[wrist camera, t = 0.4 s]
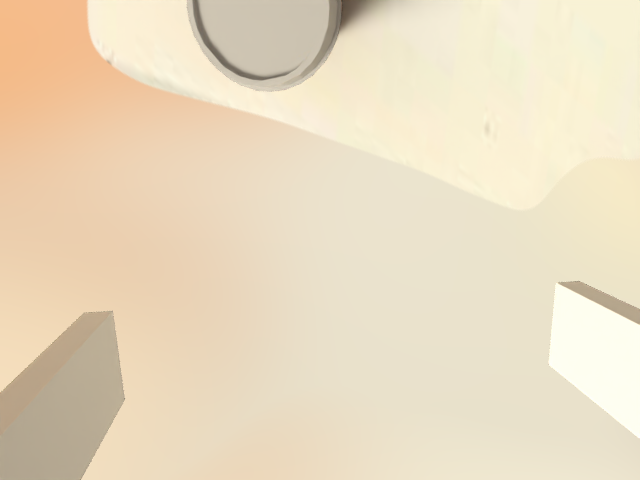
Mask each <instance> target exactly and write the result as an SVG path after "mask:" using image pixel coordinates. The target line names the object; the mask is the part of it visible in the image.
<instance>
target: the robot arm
mask: <svg viewBox="0 0 640 480" xmlns="http://www.w3.org/2000/svg"><path fill="white" fill-rule="evenodd" d="M549 365H550V366H551V367H552V368H554V369H555V370H556V371H557V372H558V373H559V374H561V375H562V376H563V377H565V378H566V379H567V380H568V381H569V382H571V383H572V384H573V385H574V386H576V387H577V388H578V389H579V390H580V391H582V392H583V393H584V394H585V395H587V396H588V397H589V398H590V399H591V400H593V401H594V402H595V403H596V404H598V405H599V406H600V407H601V408H603V409H604V410H605V411H606V412H608V413H609V414H610V415H611V416H612V417H614V418H615V419H616V420H617V421H618V422H620V423H621V424H622V425H624V426H625V427H626V428H627V429H628V430H630V431H631V432H632V433H633V434H634V435H636V436H637V437H638V438H639V439H640V309H638V308H636V307H634V306H632V305H630V304H627V303H625V302H623V301H621V300H619V299H617V298H615V297H612V296H610V295H608V294H606V293H604V292H602V291H599V290H597V289H595V288H593V287H591V286H589V285H587V284H584V283H582V282H580V281H574V282H558V283H556V288H555V299H554V311H553V322H552V333H551V344H550V355H549ZM124 400H125V398H124V390H123V383H122V375H121V368H120V361H119V353H118V346H117V338H116V331H115V324H114V316H113V311H103V312H89V313H84V314H82V315H81V316H80V317H79V318H78V319H77V320H76V321H75V322H74V323H73V324H72V325H71V326H70V327H69V328H68V329H67V330H66V331H65V332H63V333H62V334H61V335H60V336H59V337H58V338H57V339H56V340H55V341H54V342H53V343H52V344H51V345H50V346H49V347H48V348H47V349H46V350H45V351H43V352H42V353H41V354H40V356H38V357H37V358H36V359H35V360H34V361H33V362H32V363H31V364H30V365H29V366H28V367H27V368H26V369H25V370H24V371H23V372H21V374H20V375H18V376H17V377H16V378H15V379H14V380H13V381H12V382H11V383H10V384H9V385H8V386H7V387H6V388H5V389H4V390H3V391H2V392H0V480H81V478H82V476H83V475H84V473H85V471H86V469H87V467H88V466H89V464H90V462H91V460H92V458H93V457H94V455H95V453H96V451H97V449H98V448H99V446H100V444H101V442H102V440H103V438H104V436H105V435H106V433H107V431H108V429H109V427H110V426H111V424H112V422H113V420H114V418H115V417H116V415H117V413H118V411H119V409H120V407H121V406H122V404H123V402H124Z"/></svg>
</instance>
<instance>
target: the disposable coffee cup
mask: <svg viewBox="0 0 640 480" xmlns="http://www.w3.org/2000/svg"><path fill="white" fill-rule="evenodd" d="M187 11H188V16H189V22H190V25H191V28H192V31H193V34H194V37H195V38H196V40H197V42H198V44H199V46H200V48H201V50H202V52H203V53H204V54H205V55H206V57H207V58H208V59H209V61H210V62H211V63H212V64H213V65H214V66H215V67H216V68H217V69H218V70H219V71H220V72H221V73H223V74H224V75H225V76H226V77H227V78H229V79H231V80H232V81H234V82H236V83H237V84H239V85H241V86H244V87H248V88H251V89H254V90H257V91H269V92H272V91H280V90H286V89H288V88H291V87H294V86H296V85H299V84H301V83H302V82H304V81H305V80H307V79H308V78H310V77H311V76H313V75H314V74H315V72H316V71H317V70H318V69H319V68H320V67H321V66H322V65H323V64H324V63H325V61H326V60H327V58H328V56H329V54H330V53H331V51H332V49H333V47H334V45H335V42H336V40H337V36H338V32H339V27H340V22H341V13H342V0H187Z"/></svg>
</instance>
